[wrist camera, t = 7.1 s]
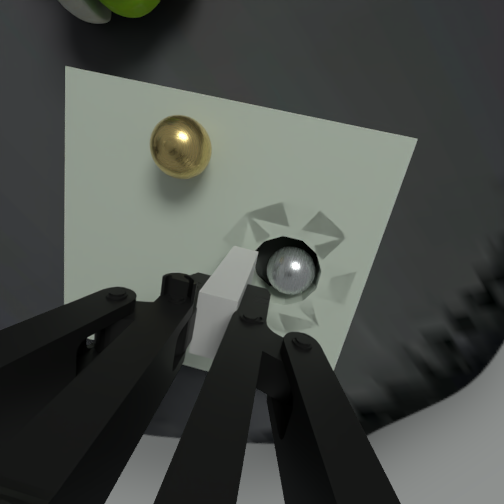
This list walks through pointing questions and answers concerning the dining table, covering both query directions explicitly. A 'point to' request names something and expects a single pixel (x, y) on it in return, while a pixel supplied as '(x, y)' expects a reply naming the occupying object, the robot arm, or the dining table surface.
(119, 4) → the rainbow disc rolling toy
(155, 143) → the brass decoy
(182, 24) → the dining table surface
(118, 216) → the pale green flat slab
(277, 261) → the steel ball
